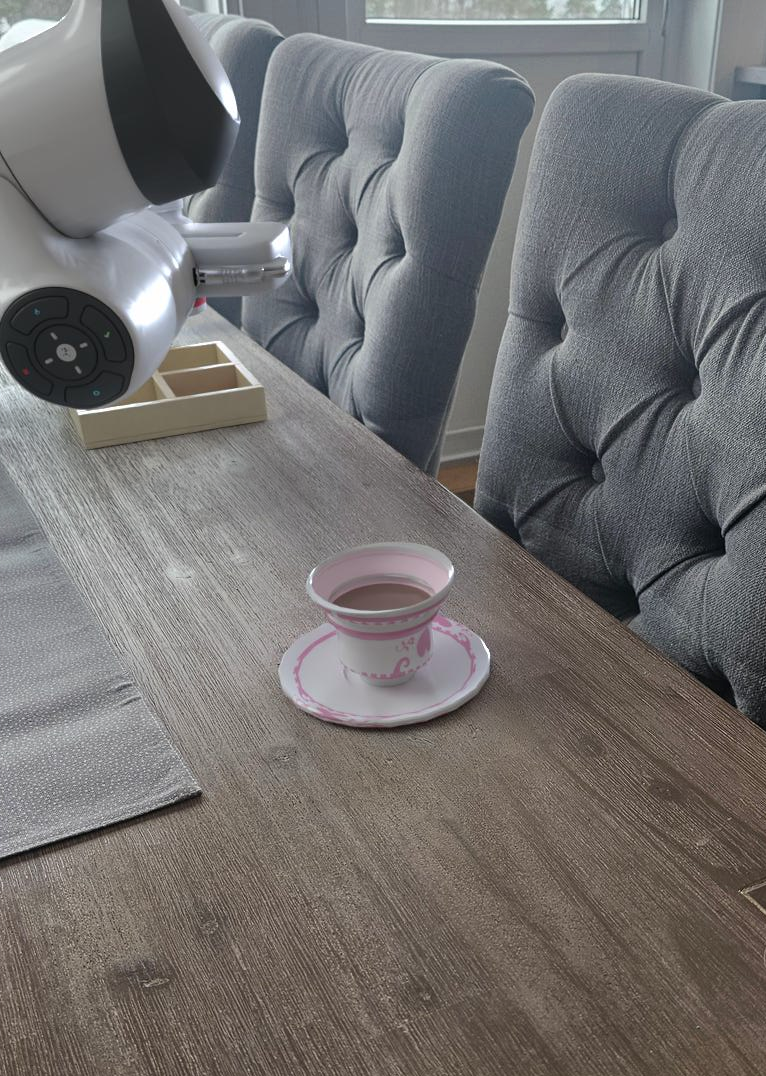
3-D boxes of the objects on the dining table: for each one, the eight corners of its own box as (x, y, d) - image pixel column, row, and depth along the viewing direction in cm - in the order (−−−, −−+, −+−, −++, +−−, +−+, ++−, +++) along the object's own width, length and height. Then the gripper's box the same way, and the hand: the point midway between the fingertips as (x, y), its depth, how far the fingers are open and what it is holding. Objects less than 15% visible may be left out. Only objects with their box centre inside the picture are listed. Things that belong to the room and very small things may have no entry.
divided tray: (61, 394, 105) (54, 363, 104) (225, 370, 111) (221, 340, 109) (85, 450, 93) (78, 415, 92) (268, 420, 99) (264, 386, 97)
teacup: (419, 756, 57) (413, 653, 54) (234, 695, 62) (218, 596, 59) (527, 647, 66) (528, 552, 62) (358, 601, 71) (350, 511, 67)
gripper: (281, 225, 72) (296, 187, 83) (-45, 233, 71) (17, 194, 82) (291, 324, 75) (304, 275, 87) (-20, 333, 74) (36, 282, 86)
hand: (162, 235), depth 85 cm, fingers closed on pill bottle, 5 cm apart
